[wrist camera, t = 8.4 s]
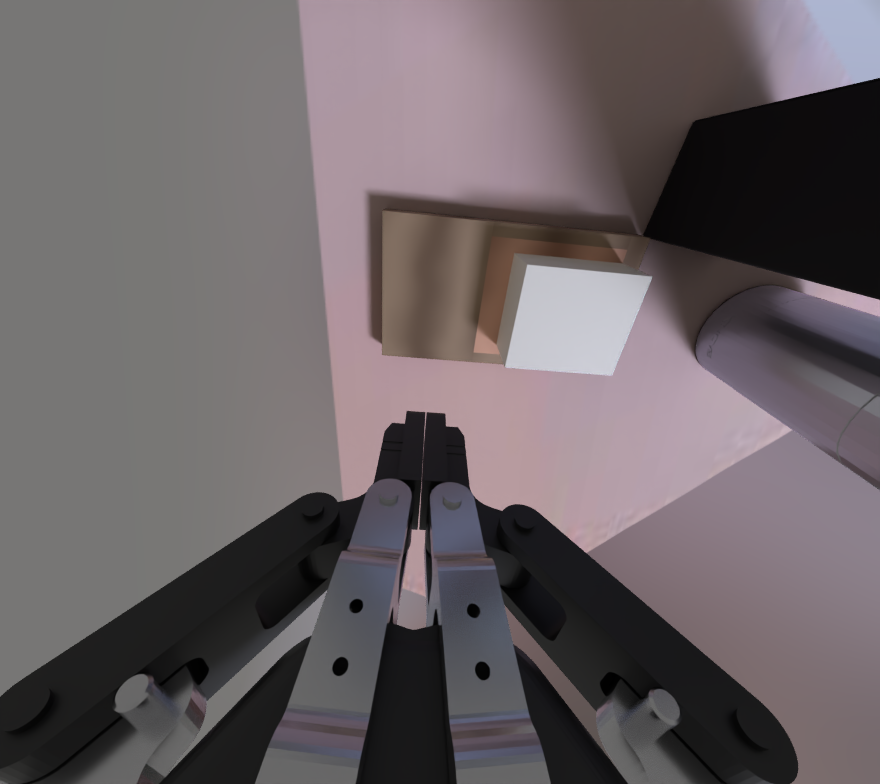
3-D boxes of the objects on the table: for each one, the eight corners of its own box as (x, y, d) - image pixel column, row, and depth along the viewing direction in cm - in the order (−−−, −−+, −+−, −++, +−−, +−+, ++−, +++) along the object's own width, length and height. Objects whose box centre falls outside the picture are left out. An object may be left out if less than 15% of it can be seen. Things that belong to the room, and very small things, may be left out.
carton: (622, 263, 28) (652, 276, 24) (590, 352, 32) (611, 375, 28) (514, 252, 27) (527, 264, 23) (496, 344, 31) (505, 367, 27)
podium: (637, 234, 28) (650, 238, 27) (590, 362, 35) (598, 371, 33) (385, 208, 27) (382, 210, 25) (384, 346, 33) (382, 355, 32)
